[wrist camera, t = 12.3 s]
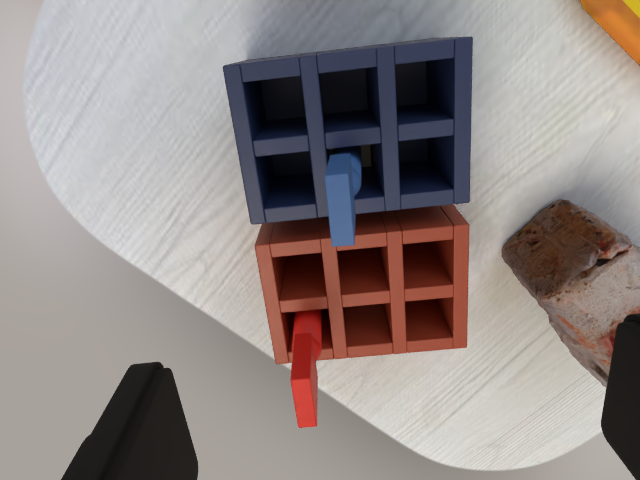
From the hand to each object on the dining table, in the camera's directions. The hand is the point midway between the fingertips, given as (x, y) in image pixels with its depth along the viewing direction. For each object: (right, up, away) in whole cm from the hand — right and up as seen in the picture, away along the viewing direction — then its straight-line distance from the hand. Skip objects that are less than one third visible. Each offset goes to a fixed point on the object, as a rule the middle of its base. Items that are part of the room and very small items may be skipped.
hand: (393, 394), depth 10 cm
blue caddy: (0, +12, +22) cm, 25 cm away
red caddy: (+1, +3, +26) cm, 26 cm away
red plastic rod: (-2, 0, +26) cm, 26 cm away
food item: (+19, 0, +27) cm, 33 cm away
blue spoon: (0, +10, +22) cm, 24 cm away
